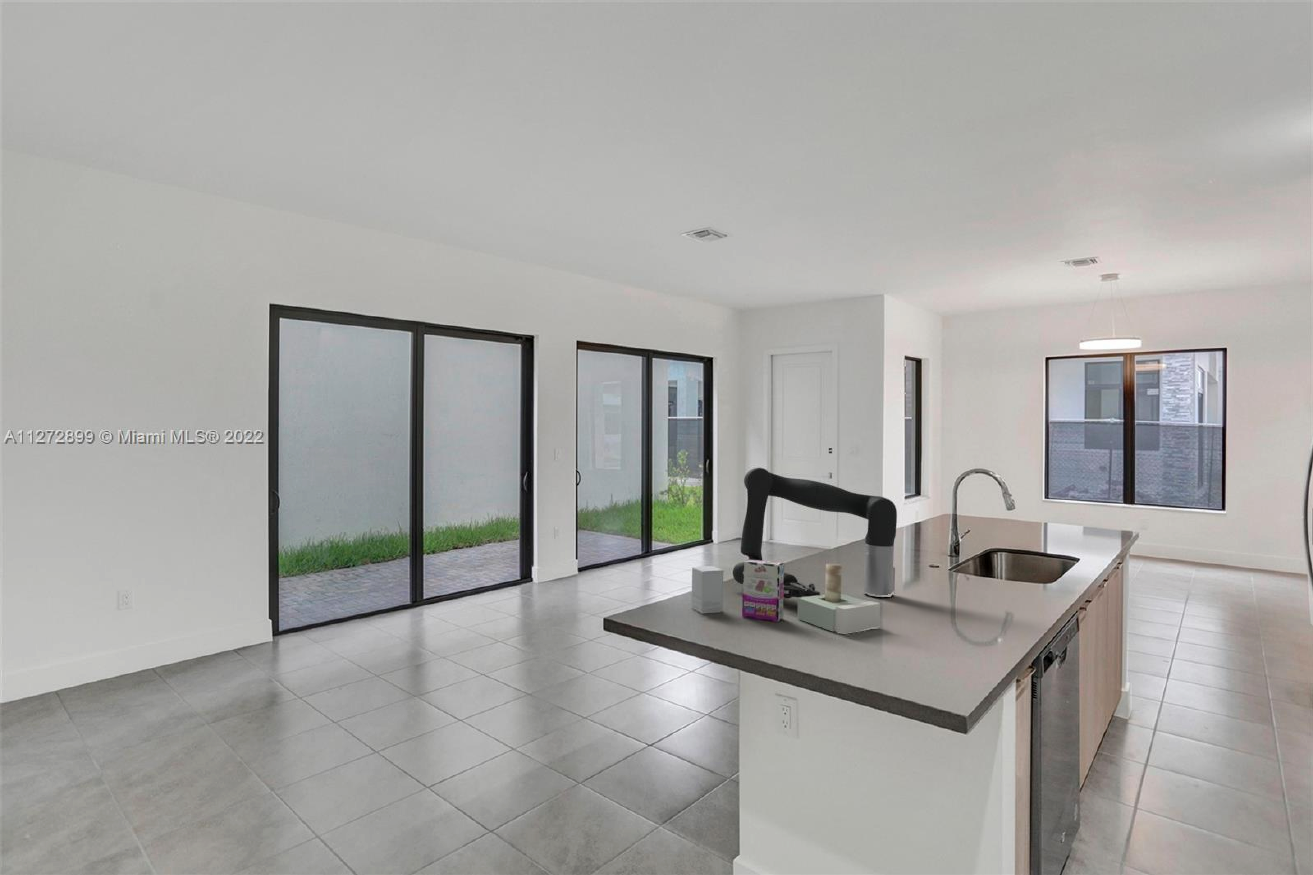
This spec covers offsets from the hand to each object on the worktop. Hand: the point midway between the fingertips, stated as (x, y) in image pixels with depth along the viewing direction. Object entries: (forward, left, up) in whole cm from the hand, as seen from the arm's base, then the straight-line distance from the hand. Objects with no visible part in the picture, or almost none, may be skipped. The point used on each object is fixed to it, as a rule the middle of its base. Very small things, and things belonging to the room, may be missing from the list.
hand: (818, 596), depth 199 cm
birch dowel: (0, +6, -4) cm, 7 cm away
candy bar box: (+16, -6, -6) cm, 18 cm away
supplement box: (+26, -20, -6) cm, 33 cm away
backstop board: (0, +16, -6) cm, 17 cm away
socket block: (0, +7, -6) cm, 9 cm away
